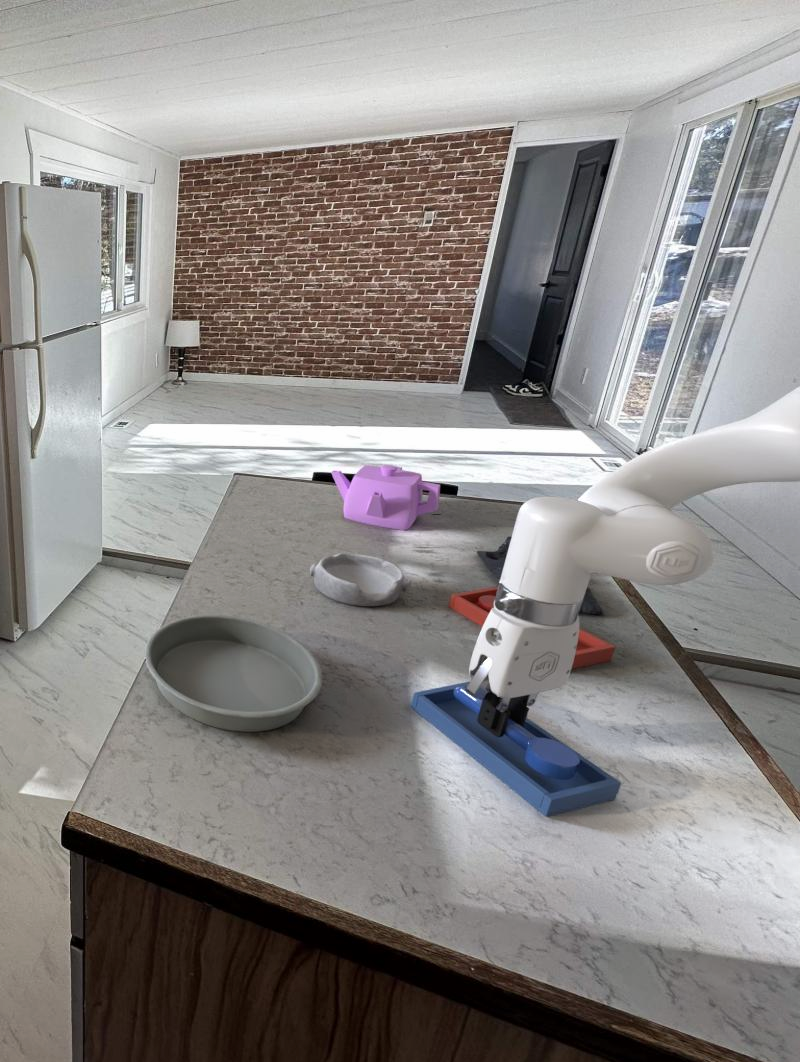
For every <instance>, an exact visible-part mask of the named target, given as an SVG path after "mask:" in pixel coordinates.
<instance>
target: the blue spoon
mask: <svg viewBox="0 0 800 1062" xmlns="http://www.w3.org/2000/svg"><path fill="white" fill-rule="evenodd" d="M465 689H466V687H457V688H455V690H454V692H453V694H454V697H455V698H456V699H457V700H458V701H460V702H461V703H462V704H464V705H465V706H466V707H468V708H469V709H471V710H472V711H473V712H475V713H476V714H477V715H478V714H479V711H480V707H481V704H482V699H478V698H475V697H473V696H472V695H470V694H469V693H468V692H466V691H465ZM504 735H506V736H507V737H509V738H510V739H511V740H513V741H514V742H515V743H517V744H518V745H519V746H521V747H522V748H523V749H525V750H526V752H525V756H524V758H525V760H526V762H527V763H528V765H529V766H530V767H532V768H533V769H534V770H536V771H537V772H539V773H541V774H543V775H545V776H548V777H551V778H554V779H560V780H567V779H571V778H573V777H574V775H575V773H576V770H577V767H578V764H579V757H578V755H577V754H576V753H575V752H574V751H575V750H574V749H573V748H572V749H573V750H574V751H573V750H572V749H570V748H571V747H570V746H569V747H570V748H569V747H567V746H568V745H567V744H566V745H567V746H566V745H564V744H565V743H564V744H562V743H560V742H557V741H554V740H551V739H546V738H537V737H535V736H534V735H533V734H531V733H530V732H528V731H527V730H526V729H524V728H523V727H521V726H520V725H518V724H517V723H516V722H514V721H513V720H511V719H510V718H509V719H508V723H507V726H506V729H505V732H504Z"/></svg>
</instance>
